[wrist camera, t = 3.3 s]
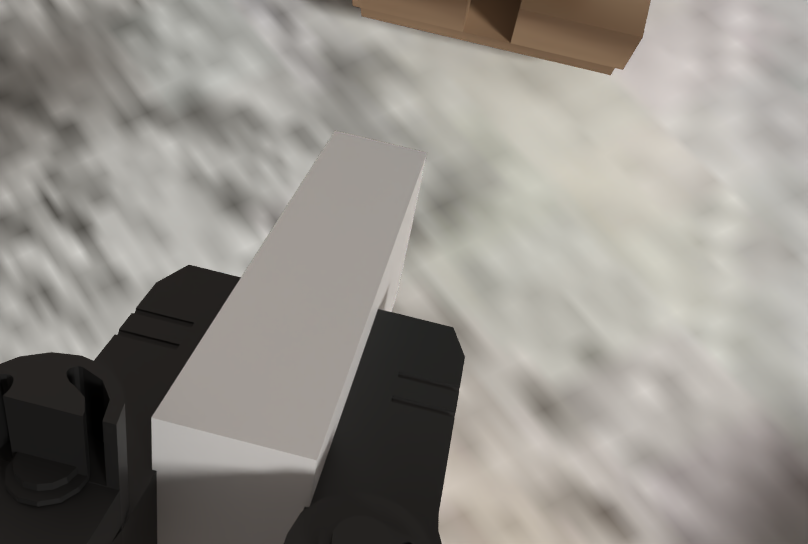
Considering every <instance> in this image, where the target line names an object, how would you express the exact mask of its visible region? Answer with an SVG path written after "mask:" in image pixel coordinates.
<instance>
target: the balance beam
mask: <svg viewBox="0 0 808 544" xmlns="http://www.w3.org/2000/svg"><path fill="white" fill-rule="evenodd" d="M650 1H651V0H352V3H353V6H355V7H360V8H361V15H362V16H363V17H367V18H372V19H376V20H380V21H384V22H388V23H393V24H397V25H401V26H405V27H410V28H414V29H418V30H422V31H426V32H431V33H435V34H439V35H443V36H448V37H452V38H456V39H460V40H464V41H469V42H473V43H477V44H481V45H486V46H490V47H494V48H498V49H502V50H507V51H511V52H515V53H519V54H524V55H528V56H532V57H536V58H540V59H545V60H549V61H553V62H557V63H562V64H566V65H570V66H574V67H578V68H583V69H587V70H591V71H595V72H600V73H604V74H608V75H611V74H612V72H613V70H614V68H618V69H622V70H623V69H624V67H625V65H626V64H627V62H628V61H629V59H630V57H631V56H632V54H633V52H634V51H635V49H636V47H637V46H638V44H639V42H640V41H641V39H642V37H643V33H644V28H645V24H646V19H647V15H648V10H649V5H650Z"/></svg>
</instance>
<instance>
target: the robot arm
mask: <svg viewBox="0 0 808 544" xmlns="http://www.w3.org/2000/svg"><path fill="white" fill-rule="evenodd" d="M426 156H427V152H423V151H419V150H415V149H411V148H407V147H402V146H398V145H394V144H390V143H385V142H381V141H377V140H373V139H369V138H364V137H360V136H356V135H352V134H347V133H343V132H339V131H334V133H333V134H332V136H331V138H330V139H329V141H328V142H327V144H326V145H325V147H324V148H323V150H322V152H321V153H320V155H319V156H318V158H317V159H316V161H315V163H314V164H313V166H312V167H311V169H310V170H309V172H308V174H307V175H306V177H305V178H304V180H303V181H302V183H301V184H300V186H299V188H298V189H297V191H296V192H295V194H294V195H293V197H292V199H291V200H290V202H289V203H288V205H287V206H286V208H285V209H284V211H283V213H282V214H281V216H280V217H279V219H278V220H277V222H276V224H275V225H274V227H273V228H272V230H271V231H270V233H269V234H268V236H267V238H266V239H265V241H264V242H263V244H262V245H261V247H260V249H259V250H258V252H257V253H256V255H255V256H254V258H253V260H252V261H251V263H250V264H249V266H248V267H247V269H246V270H245V272H244V274H243V275H242V277H237V276H232V275H228V274H224V273H220V272H216V271H212V270H208V269H204V268H200V267H196V266H192V265H188V266H186V267H184V268H182V269H180V270H178V271H177V272H175V273H173V274H171V275H169V276H168V277H166V278H164V279H162V280H160V281H158V282H157V283H156V284H155V285H154V286H153V287H152V289H151V290H150V291H149V292H148V294H147V295H146V296H145V297H144V299H143V300H142V301H141V302H140V304H139V305H138V306H137V307H136V311H135V313H132V314H131V315H130V316H129V317H128V319H127V320H126V321H125V322H124V324H123V325H122V326H121V327H120V329H119V333H118V335H114V336H113V337H112V339H111V340H110V341H109V342H108V344H107V345H106V346H105V347H104V349H103V350H102V351H101V352H100V354H99V355H98V356H97V357H96V359H95V360H94V361H93V360H90V359H88V358H86V357H83V356H80V355H71V354H62V353H53V352H51V353H43V354H35V355H28V356H20V357H17V358H15V359H12V360H9V361H7V362H4V363H2V364H0V544H442V543H441V539H440V535H439V532H438V516H439V507H440V502H441V496H442V490H443V484H444V478H445V472H446V466H447V460H448V454H449V448H450V442H451V436H452V430H453V424H454V416H455V412H456V406H457V401H458V395H459V388H460V383H461V377H462V371H463V365H464V359H465V356H464V353H463V351H462V348H461V346H460V343H459V341H458V338H457V336H456V333H455V331H454V328H453V327H449V326H445V325H441V324H437V323H433V322H429V321H425V320H421V319H417V318H413V317H409V316H405V315H401V314H397V313H393V312H392V309H393V306H394V302H395V299H396V296H397V293H398V289H399V284H400V280H401V275H402V270H403V265H404V261H405V256H406V251H407V246H408V242H409V237H410V232H411V227H412V223H413V218H414V213H415V208H416V204H417V199H418V194H419V189H420V185H421V180H422V175H423V170H424V166H425V161H426Z"/></svg>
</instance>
